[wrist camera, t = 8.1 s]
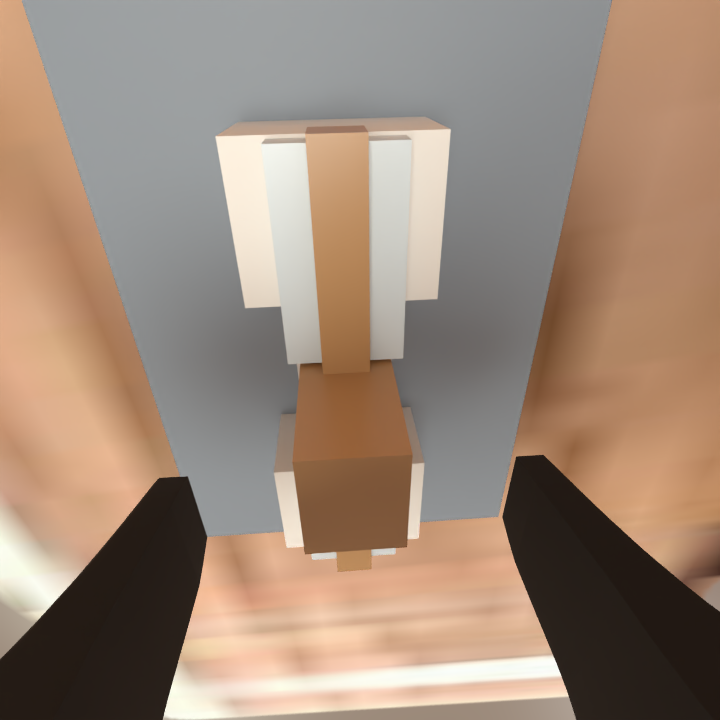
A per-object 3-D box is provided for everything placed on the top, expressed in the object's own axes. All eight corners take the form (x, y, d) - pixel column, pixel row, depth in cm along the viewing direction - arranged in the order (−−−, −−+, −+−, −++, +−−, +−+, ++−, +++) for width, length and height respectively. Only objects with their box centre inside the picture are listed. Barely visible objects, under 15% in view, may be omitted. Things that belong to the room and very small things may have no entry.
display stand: (593, -23, 12) (707, -61, 8) (490, 496, 23) (520, 575, 19) (42, -14, 11) (-87, -51, 8) (206, 515, 22) (183, 601, 19)
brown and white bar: (406, 124, 10) (452, 157, 6) (392, 538, 17) (409, 659, 14) (264, 127, 10) (228, 163, 6) (313, 543, 17) (310, 667, 14)
